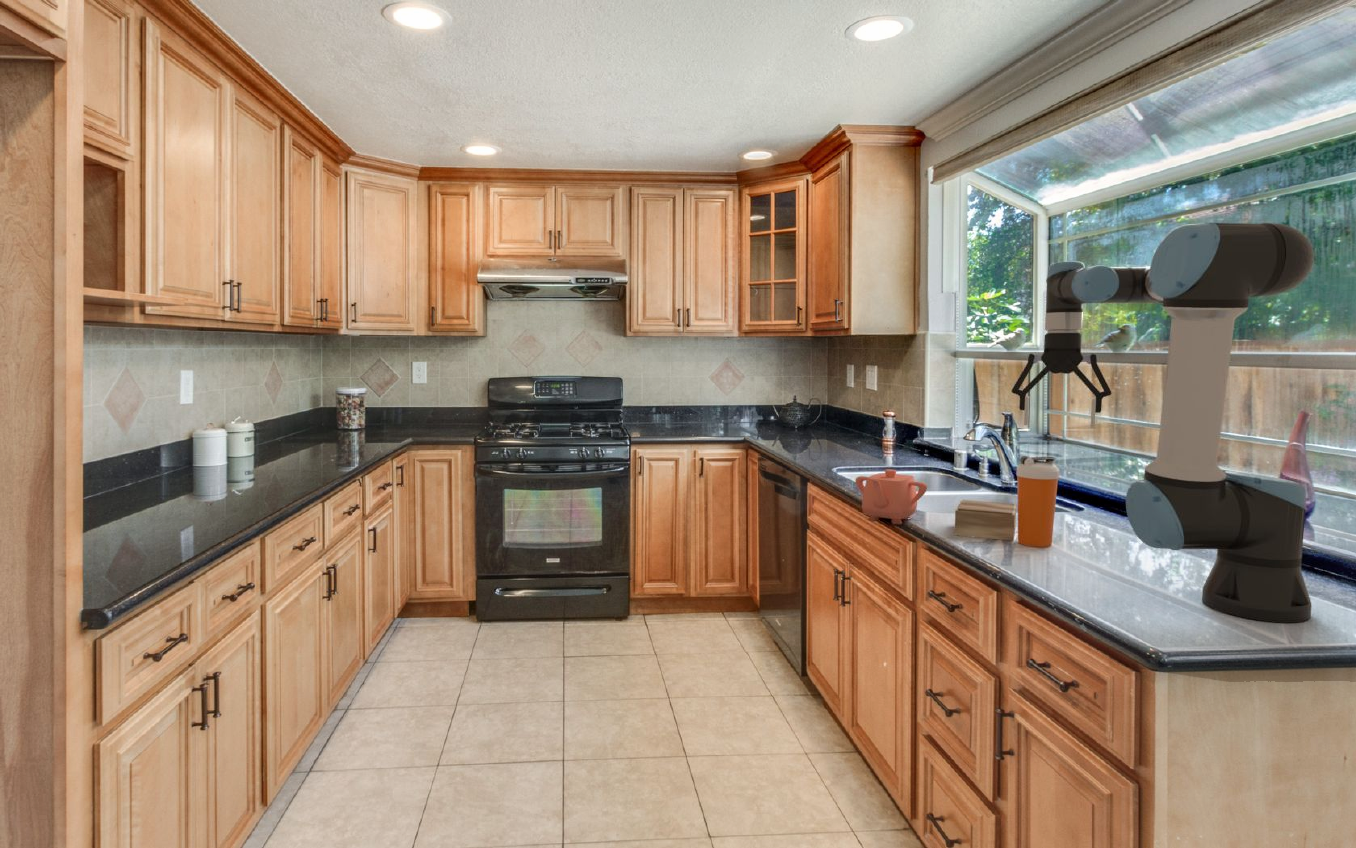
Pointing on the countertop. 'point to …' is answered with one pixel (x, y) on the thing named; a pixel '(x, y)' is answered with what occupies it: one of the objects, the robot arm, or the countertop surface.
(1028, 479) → the shaker bottle
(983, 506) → the block
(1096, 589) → the countertop surface
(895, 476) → the teapot
